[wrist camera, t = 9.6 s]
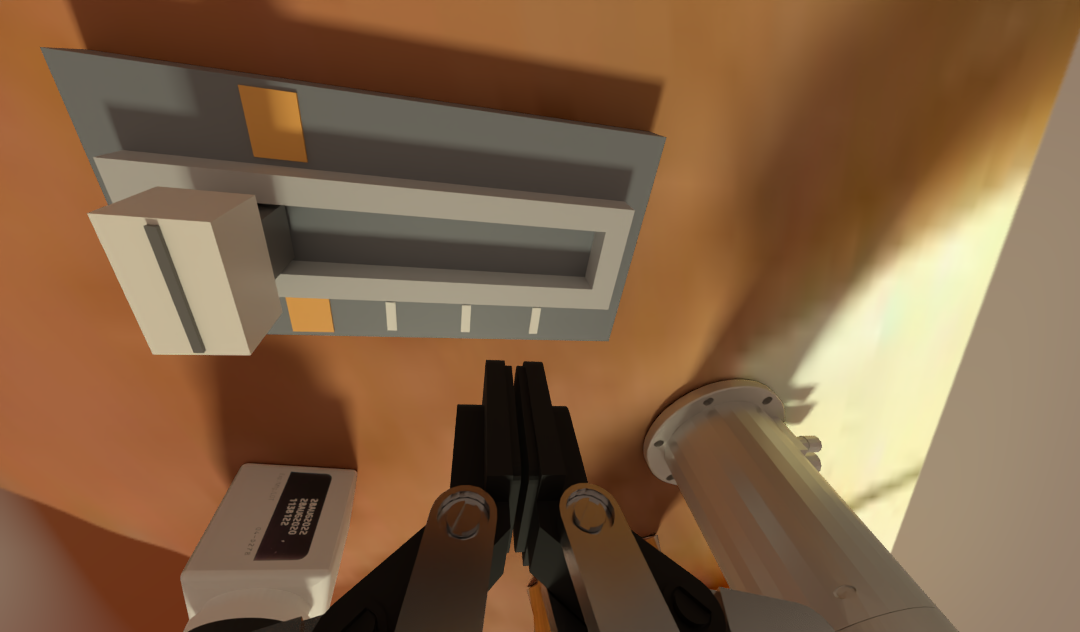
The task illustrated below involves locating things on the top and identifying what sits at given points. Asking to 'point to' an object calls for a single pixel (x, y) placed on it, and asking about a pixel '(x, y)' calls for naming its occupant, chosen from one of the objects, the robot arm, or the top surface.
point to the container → (270, 549)
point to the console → (384, 194)
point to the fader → (197, 266)
